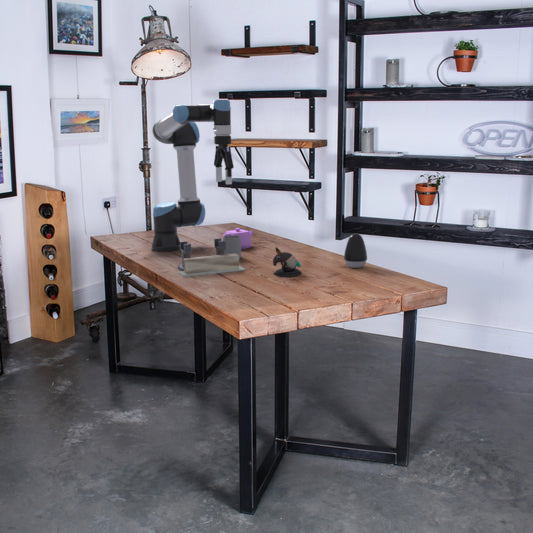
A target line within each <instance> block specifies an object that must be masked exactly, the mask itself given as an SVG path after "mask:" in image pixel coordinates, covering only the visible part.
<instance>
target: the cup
mask: <svg viewBox="0 0 533 533" xmlns="http://www.w3.org/2000/svg"><path fill="white" fill-rule="evenodd" d="M222 241H226V250H224V252H225V255H226V254H238V255H239V259H241V258H242V249H241V237H240V236H237V235H229V236H224V237H223V236H222Z"/></svg>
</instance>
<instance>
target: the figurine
mask: <svg viewBox="0 0 533 533" xmlns="http://www.w3.org/2000/svg"><path fill="white" fill-rule="evenodd" d="M275 252H276V254H275V256H273V260H272V265H273V266H274V267H275V266H277V264H278V263H280V265H281V268H279V269H276V270H275V271H274V272H273V273H272V274H273V276H275V277H279V278H293V277H297V276H300V275H301V274H302V271H301V270H299V269H298V268H302V265H301V263H300V262H299V261H298V260H297V259H296V257H295V256H294V254H292V253H290V252H287V251H284V252H283V251H281V250H280V249H279V248H278V247H277V246H276V247H275Z"/></svg>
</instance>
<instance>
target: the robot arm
mask: <svg viewBox="0 0 533 533" xmlns="http://www.w3.org/2000/svg"><path fill="white" fill-rule="evenodd" d="M231 108H232V107H231V101H230V100H229V99H214V100H213V103H212V104H176V105H174V106H173V109H172V113H171V114H170V115H168V116H167V117H165V118H164V119H163V118H162V119H159V120H157V121H156V122H155V123H154V125H153V126H152V134H153V137H154V139H155V140H157V142H160V143H162V144H166V145H173V146H172V148H173V149H174V150H175V151H176V159H177V170H178V171H177V172H178V181H179V182H178V183H179V185H178V186H179V197H180V198H179V199H178V200H177V203H176V202H174V201H173V202H172V201H169V202H162V203H159V204H158V203H157V204H156V205H154V206H153V208H152V209H153V210H152V211H153V212H152V213H153V214H152V216H153V217H152V218H153V230H154V235H153V238H152V242H151V251H156V252H172V251H179V250H180V242H181V240H180V237H179V235H178V228H187V227H195V226H201V224H203V223H204V220H205V217H206V208H205V205H204V203H203V202H201V199H200V198H199V197H198V192H197V180H196V179H197V178H196V166H195V153H194V151H195V149H196V147H197V144H198V143H199V141H200V137H201V136H200V135H201V134H200V131H199V130H200V129H199V127H198V124H197V123H205V122H206V123H213V128H212V129H213V131H214V132H213V134H214V136H213V137H214V140H213V141H214V143H213V144H215V153H214V159H213V160H214V162H213V166H214V167H215V181H216V183H218V182H223V163H224V170H225V185H232V184H233V172H232V170H233V169H234V163H233V162H234V161H233V157H232V152H231V151H232V147H231V146H229V145H231V144H232V136H231V134H232V125H231V123H232V122H231V120H232V119H231V118H232V117H231V115H232V114H231V111H232V110H231ZM223 161H224V162H223Z"/></svg>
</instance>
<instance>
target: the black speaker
mask: <svg viewBox="0 0 533 533" xmlns="http://www.w3.org/2000/svg"><path fill="white" fill-rule="evenodd" d="M346 242H347V243H346V246H345V250H344V253H343V260H344V263H345V265H346V266H347V267H348V268H352V269H361V268H363V267H364V266H365V265H366V263H367V261H368V253H367V248H366V244H365V241H364V238H363V236H362V235H361V234H360V233H353V234H351V235H350V236H349V238H348V240H347V241H346Z"/></svg>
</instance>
